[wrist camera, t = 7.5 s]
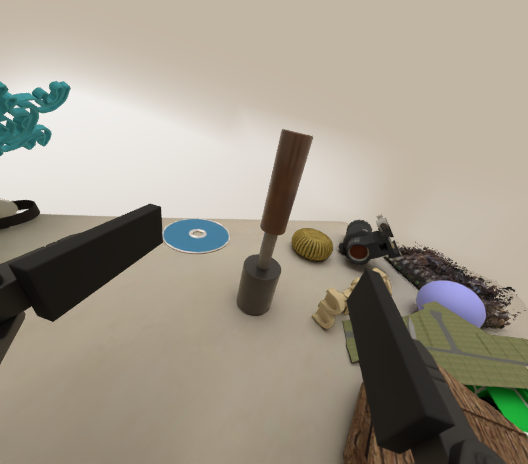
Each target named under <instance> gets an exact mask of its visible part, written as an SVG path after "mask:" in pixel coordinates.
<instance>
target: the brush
mask: <svg viewBox="0 0 528 464" xmlns="http://www.w3.org/2000/svg"><path fill="white" fill-rule="evenodd" d="M312 140H313V137H312V136H310V135H305V134H301V133H297V132H293V131H288V130H285V129H282V132H281V136H280V140H279V145H278V149H277V154H276V158H275V163H274V167H273V171H272V176H271V180H270V185H269V189H268V194H267V198H266V203H265V207H264V212H263V216H262V220H261V225H260V227H261V229H262V230H263V231H264V232H265V233H264V237H263V242H262V246H261V250H260V254H257V255H251V256H249V257H248V258H246V260H245V261H244V265H243V271H242V276H241V281H240V286H239V291H238V296H237V304H238V306H239V308H240V309H241V310H242V311H243V312H245V313H247V314H249V315H254V316H257V315H262V314H264V313H265V312H267V310H268V309H269V307H270V304H271V301H272V298H273V295H274V292H275V289H276V286H277V283H278V280H279V277H280V274H281V267H280V265H279V263H278V262H277V261H276V260H274V259H273V258H271V257H272V254H273V250H274V247H275V243H276V240H277V236H278V235H282V234H284V232H285V230H286V226H287V223H288V220H289V216H290V213H291V210H292V206H293V203H294V200H295V196H296V193H297V190H298V186H299V183H300V180H301V176H302V173H303V170H304V166H305V163H306V159H307V156H308V153H309V149H310V146H311V143H312Z"/></svg>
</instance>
